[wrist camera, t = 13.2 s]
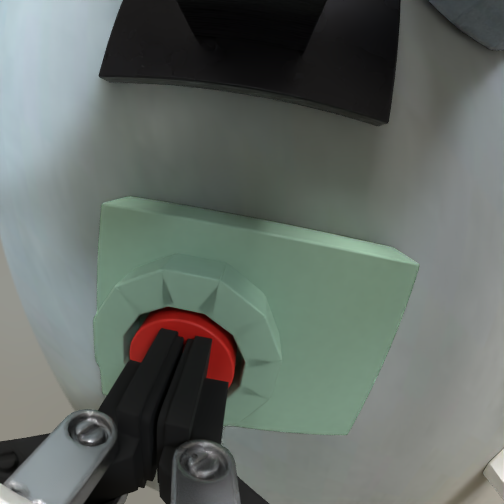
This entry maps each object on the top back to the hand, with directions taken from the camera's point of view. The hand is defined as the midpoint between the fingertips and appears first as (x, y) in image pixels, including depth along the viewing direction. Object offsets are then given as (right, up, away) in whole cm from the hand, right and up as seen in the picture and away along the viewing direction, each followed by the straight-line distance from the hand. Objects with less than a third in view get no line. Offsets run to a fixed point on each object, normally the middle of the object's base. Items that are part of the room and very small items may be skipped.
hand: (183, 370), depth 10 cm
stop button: (0, +1, +2) cm, 2 cm away
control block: (+2, +1, +5) cm, 5 cm away
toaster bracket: (+3, +15, +1) cm, 15 cm away
